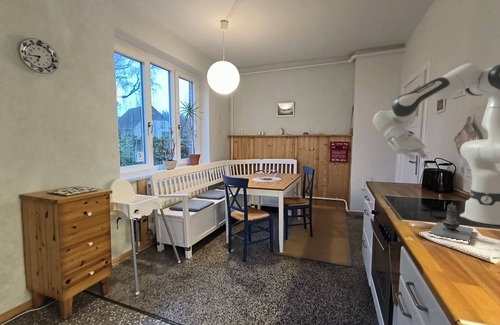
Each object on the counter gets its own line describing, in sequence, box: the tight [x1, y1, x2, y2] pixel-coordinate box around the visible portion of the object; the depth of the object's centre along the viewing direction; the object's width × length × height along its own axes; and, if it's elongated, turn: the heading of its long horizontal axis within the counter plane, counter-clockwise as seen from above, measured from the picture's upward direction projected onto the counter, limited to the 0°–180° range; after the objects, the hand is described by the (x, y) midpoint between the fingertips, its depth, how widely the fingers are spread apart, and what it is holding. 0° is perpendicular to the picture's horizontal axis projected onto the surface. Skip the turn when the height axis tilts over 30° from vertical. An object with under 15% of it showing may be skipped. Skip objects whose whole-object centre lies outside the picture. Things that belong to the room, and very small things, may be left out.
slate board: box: [429, 221, 474, 243], centre depth 101 cm, size 18×12×2 cm, turn 134°
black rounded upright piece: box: [441, 202, 461, 233], centre depth 101 cm, size 6×6×12 cm
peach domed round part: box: [408, 220, 431, 229], centre depth 112 cm, size 8×8×1 cm
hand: (419, 158), depth 109 cm, fingers open, 8 cm apart
